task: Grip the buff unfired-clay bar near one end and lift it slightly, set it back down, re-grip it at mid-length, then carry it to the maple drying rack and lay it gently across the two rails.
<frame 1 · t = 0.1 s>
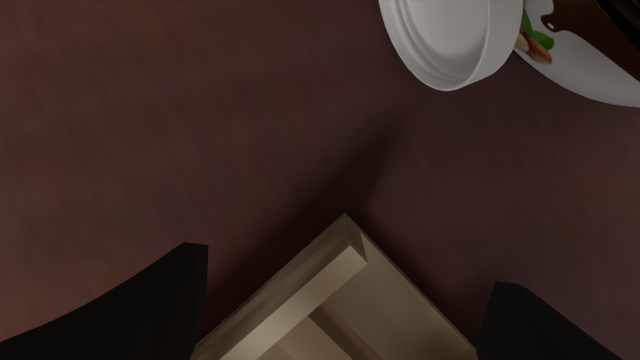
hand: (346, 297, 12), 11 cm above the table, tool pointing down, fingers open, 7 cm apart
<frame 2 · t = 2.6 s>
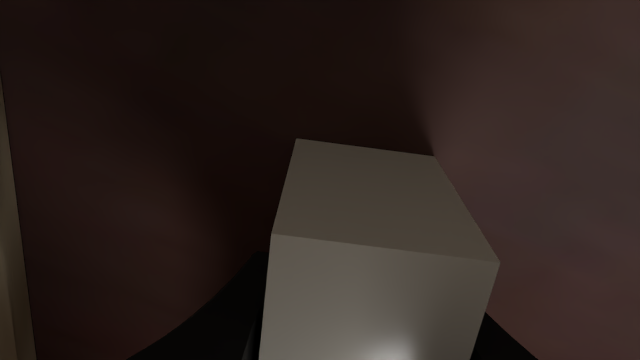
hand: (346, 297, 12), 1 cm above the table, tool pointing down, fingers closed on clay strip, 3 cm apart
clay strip: (330, 350, 14), on the table, touching gripper
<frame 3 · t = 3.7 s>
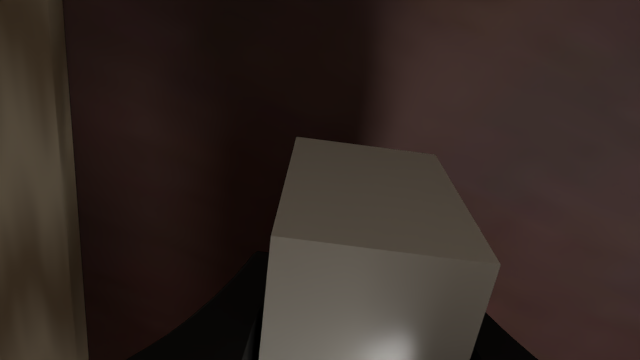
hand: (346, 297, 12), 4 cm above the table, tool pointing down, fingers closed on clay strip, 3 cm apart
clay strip: (330, 347, 14), point 3 cm above the table, touching gripper
when the fingers open (2 cm above the table, at t = 4.9 s): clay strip stays where it is, on the table.
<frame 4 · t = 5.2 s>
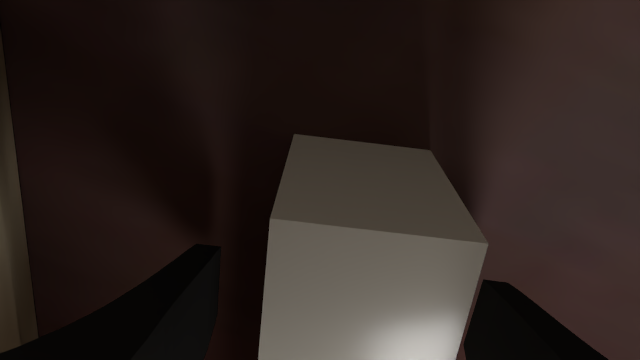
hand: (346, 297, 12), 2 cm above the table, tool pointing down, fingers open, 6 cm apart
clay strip: (330, 339, 14), on the table
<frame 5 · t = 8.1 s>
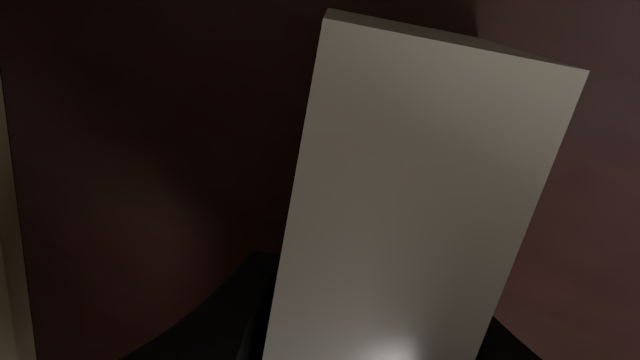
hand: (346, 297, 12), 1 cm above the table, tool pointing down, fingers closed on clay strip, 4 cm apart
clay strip: (345, 264, 13), on the table, touching gripper
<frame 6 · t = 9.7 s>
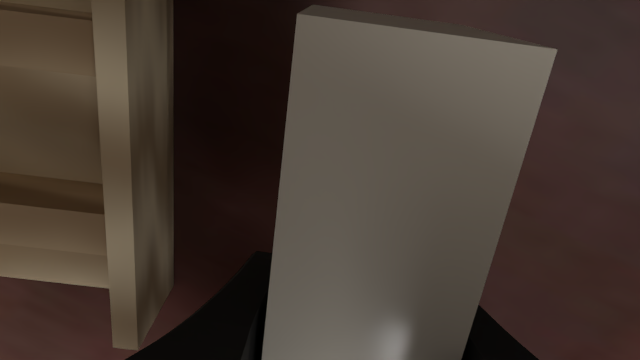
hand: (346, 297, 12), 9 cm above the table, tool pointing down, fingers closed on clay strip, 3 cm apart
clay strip: (346, 255, 13), point 8 cm above the table, touching gripper
drying rack: (56, 114, 20), on the table
when the fingers open (6 cm above the table, at t = 11.4 s): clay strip stays where it is, resting on drying rack.
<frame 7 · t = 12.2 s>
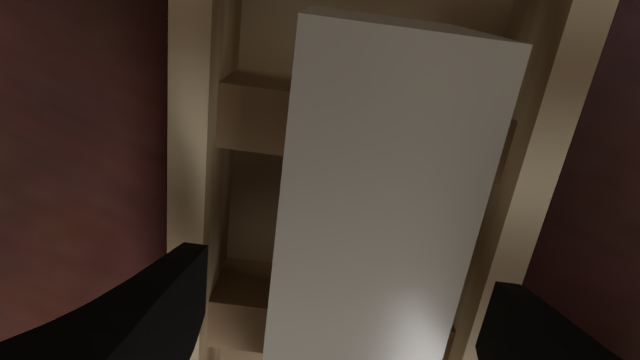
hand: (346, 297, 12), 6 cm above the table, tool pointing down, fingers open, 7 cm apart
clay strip: (344, 243, 14), point 3 cm above the table, touching drying rack
drying rack: (342, 199, 17), on the table
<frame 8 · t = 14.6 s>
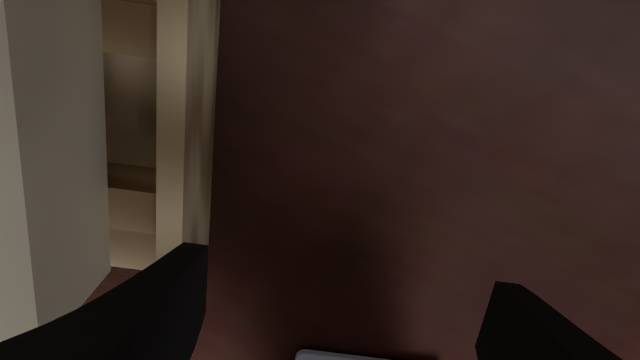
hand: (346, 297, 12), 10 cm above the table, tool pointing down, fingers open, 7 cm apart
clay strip: (58, 114, 17), point 3 cm above the table, touching drying rack
drying rack: (102, 99, 21), on the table
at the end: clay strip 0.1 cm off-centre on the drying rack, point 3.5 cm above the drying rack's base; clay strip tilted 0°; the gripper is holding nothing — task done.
